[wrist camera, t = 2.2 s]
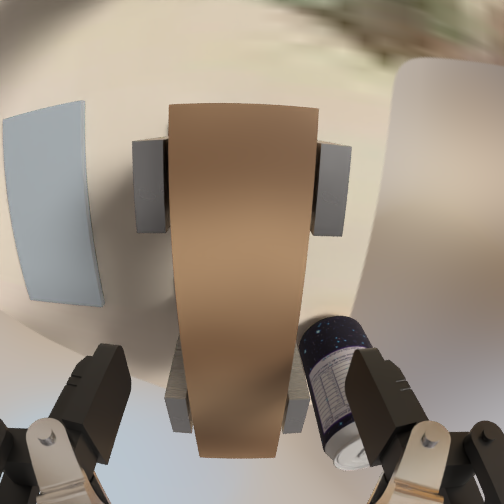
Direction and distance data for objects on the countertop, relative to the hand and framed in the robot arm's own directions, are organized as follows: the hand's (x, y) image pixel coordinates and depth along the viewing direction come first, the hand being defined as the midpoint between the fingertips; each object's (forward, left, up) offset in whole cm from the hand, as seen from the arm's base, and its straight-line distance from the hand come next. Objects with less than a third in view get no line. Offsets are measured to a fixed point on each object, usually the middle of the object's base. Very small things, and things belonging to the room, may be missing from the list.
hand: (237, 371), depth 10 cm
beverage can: (+9, +8, -13) cm, 18 cm away
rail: (0, 0, -5) cm, 5 cm away
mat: (-2, -15, -13) cm, 20 cm away
